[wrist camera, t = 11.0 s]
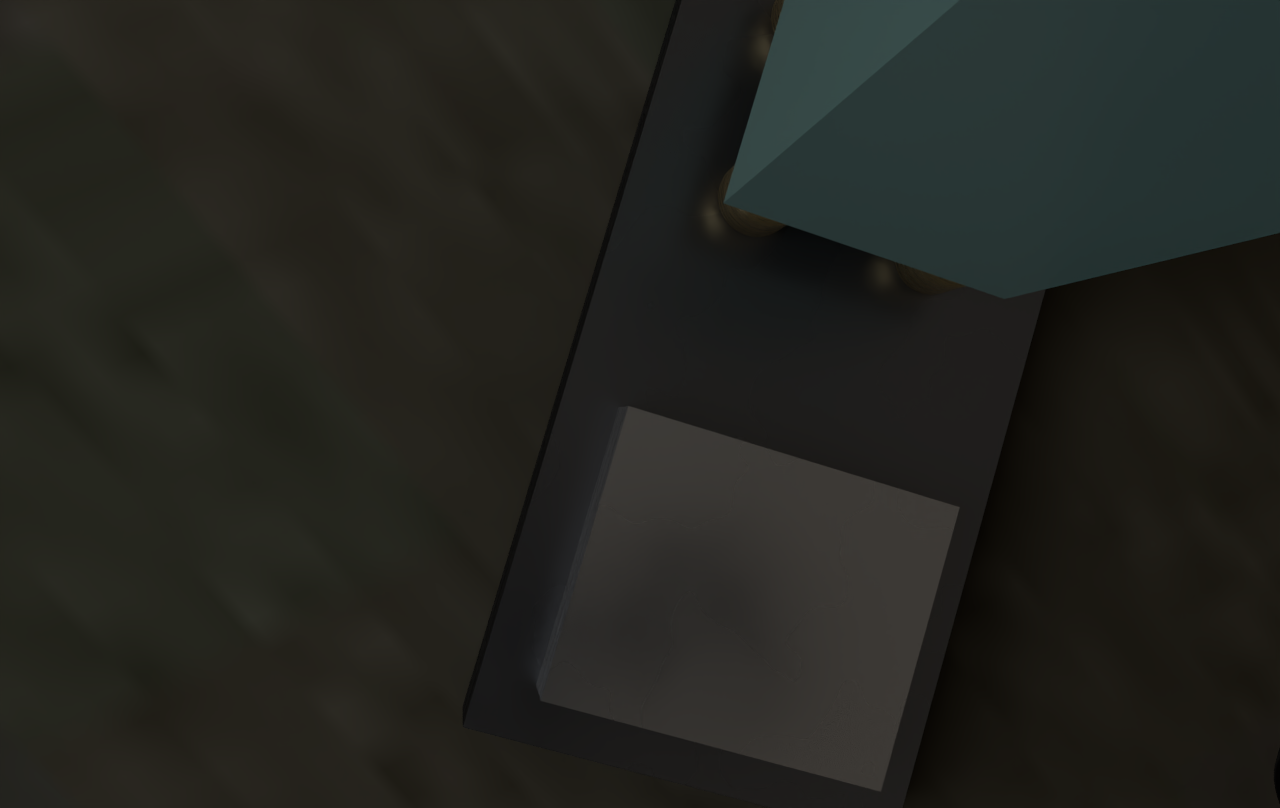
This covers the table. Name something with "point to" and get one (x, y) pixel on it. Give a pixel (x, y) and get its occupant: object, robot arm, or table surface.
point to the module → (1019, 133)
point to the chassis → (747, 478)
